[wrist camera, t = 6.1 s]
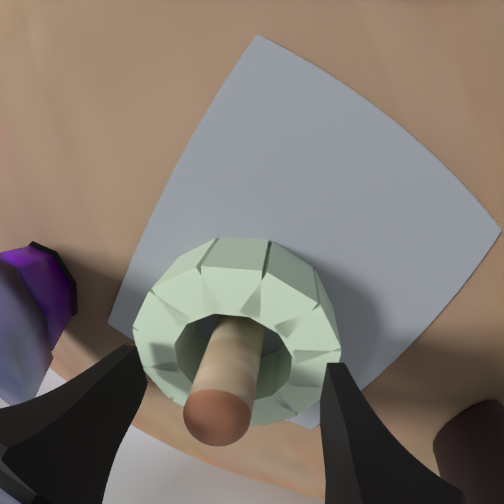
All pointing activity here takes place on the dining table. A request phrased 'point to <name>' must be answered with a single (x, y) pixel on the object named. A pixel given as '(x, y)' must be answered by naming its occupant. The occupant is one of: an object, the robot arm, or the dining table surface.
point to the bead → (248, 305)
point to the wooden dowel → (225, 382)
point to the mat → (318, 207)
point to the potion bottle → (31, 317)
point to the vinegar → (474, 453)
